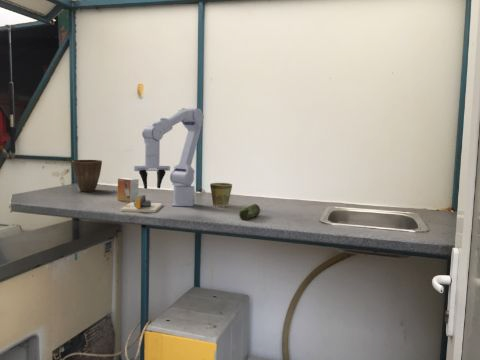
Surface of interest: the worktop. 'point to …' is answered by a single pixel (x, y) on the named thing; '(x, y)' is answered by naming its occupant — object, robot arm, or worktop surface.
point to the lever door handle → (142, 202)
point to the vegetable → (249, 211)
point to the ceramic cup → (220, 193)
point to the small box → (127, 189)
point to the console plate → (142, 208)
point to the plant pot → (87, 173)
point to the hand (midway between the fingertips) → (152, 188)
